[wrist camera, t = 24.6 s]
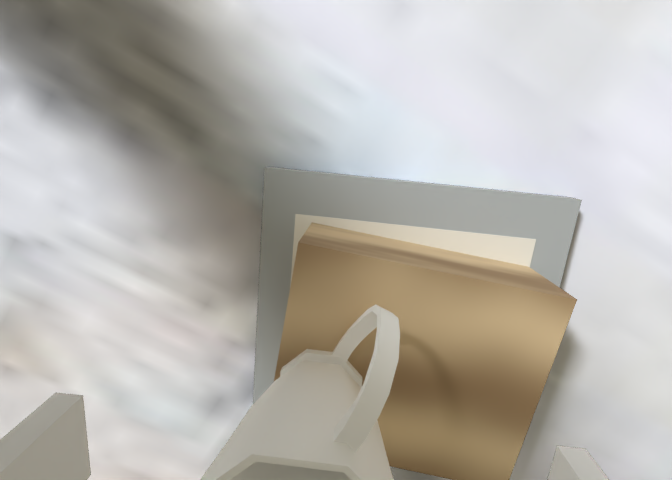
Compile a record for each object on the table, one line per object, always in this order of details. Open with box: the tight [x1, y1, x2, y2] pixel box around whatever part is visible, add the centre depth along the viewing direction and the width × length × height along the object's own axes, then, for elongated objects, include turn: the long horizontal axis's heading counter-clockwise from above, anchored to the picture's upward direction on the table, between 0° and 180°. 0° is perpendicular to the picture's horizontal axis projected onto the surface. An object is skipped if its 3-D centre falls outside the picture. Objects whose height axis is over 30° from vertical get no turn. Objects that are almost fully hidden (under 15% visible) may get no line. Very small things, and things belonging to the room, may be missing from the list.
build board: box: [253, 167, 582, 404], centre depth 24 cm, size 18×18×1 cm
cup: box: [201, 304, 400, 480], centre depth 15 cm, size 7×10×8 cm
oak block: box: [274, 222, 577, 480], centre depth 21 cm, size 11×13×5 cm
